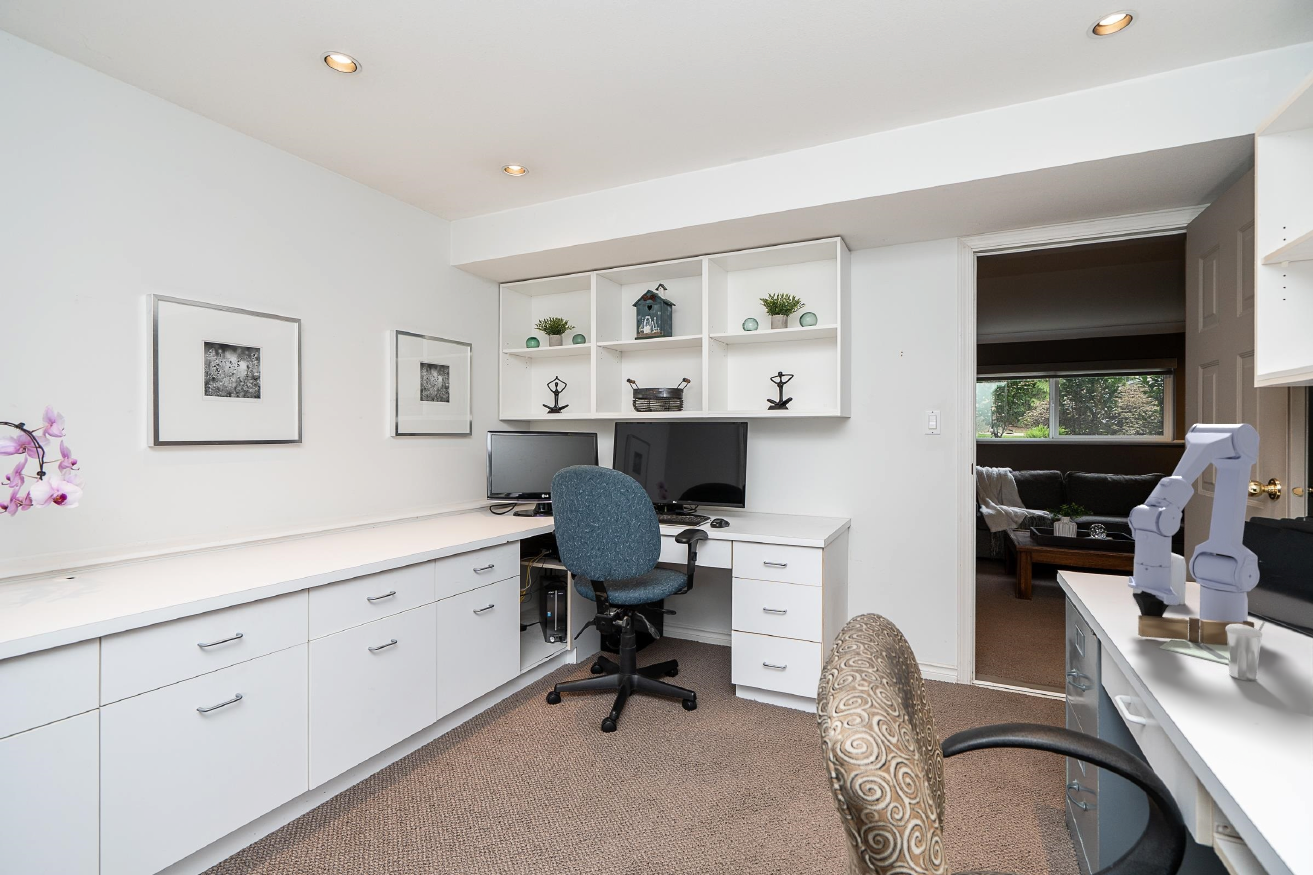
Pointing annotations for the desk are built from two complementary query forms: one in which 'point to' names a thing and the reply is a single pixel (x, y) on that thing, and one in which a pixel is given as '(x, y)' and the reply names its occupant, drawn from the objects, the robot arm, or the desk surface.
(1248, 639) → the milkshake
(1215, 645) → the card
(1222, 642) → the fence fixed
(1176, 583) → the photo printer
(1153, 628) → the fence wing
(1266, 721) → the desk surface
